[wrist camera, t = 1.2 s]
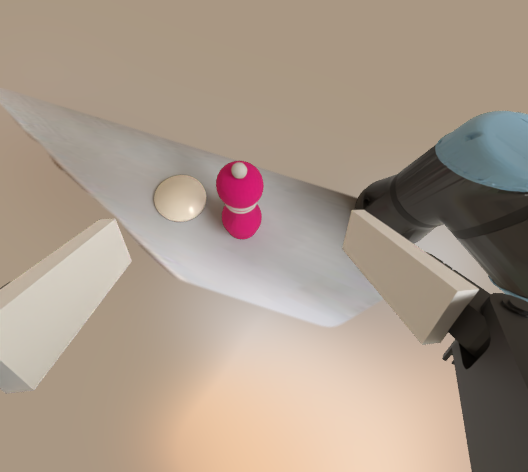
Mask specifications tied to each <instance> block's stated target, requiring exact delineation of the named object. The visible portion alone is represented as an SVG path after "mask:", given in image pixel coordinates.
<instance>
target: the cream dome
mask: <svg viewBox="0 0 528 472" xmlns="http://www.w3.org/2000/svg"><path fill="white" fill-rule="evenodd" d="M206 200H207V197H206V192H205V189H204V187H203V186H202V184H201V183H200V182H199V181H198V180H197V179H195V178H193V177H191V176H187V175H176V176H172V177H170V178H168V179H166V180H164V181H163V182H162V183H161V184H160V185H159V186H158V188H157V190H156V192H155V195H154V203H155V206H156V208H157V210H158V211H159V213H160V214H161V215H163V216H164V217H165V218H167V219H168V220H171V221H174V222H185V221H189V220H192V219H194V218H195V217H197V216H198V215H199V214H200V213H201V212H202V211H203V209H204V207H205V205H206Z"/></svg>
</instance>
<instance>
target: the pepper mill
mask: <svg viewBox="0 0 528 472" xmlns="http://www.w3.org/2000/svg"><path fill="white" fill-rule="evenodd" d="M216 187H217V192H218V194H219V197H220V198H221V199H222V201H223V202H224V204H225V206H224V209H223V211H222V222H223V225H224V227H225V228H226V230H227V231H228V232H229V233H230V234H231V235H232V236H233V237H235V238H237V239H247V238H250V237H251V236H253V235H254V234H255V232H256V230H257V229H258V228H259V226H260V224H261V210H260V208H259V206H258V205H257V202H258V200H259V199H260V197H261V195H262V192H263V179H262V176H261V174H260V172H259V170H258V169H257V168H256V167H255V166H253V165H252V164H250V163H248V162H244V161H234V162H231V163H229V164H227V165H225V166H224V167H223V168H222V169H221V170H220V172H219V174H218V176H217V180H216Z"/></svg>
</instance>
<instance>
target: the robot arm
mask: <svg viewBox="0 0 528 472" xmlns="http://www.w3.org/2000/svg"><path fill="white" fill-rule="evenodd" d="M443 224H445V226H446V227H448V229H449V230H450V231H451V232H452V233H453V235H454V236H455V237H456V238H457V239H458V240H459V241H460V243H461V244H462V245H463V246H464V247H465V249H466V250H467V251H468V252H469V253H470V254H471V255H472V257H473V258H474V259H475V260H476V261H477V262H478V263H479V265H480V266H481V267H482V268H483V269H484V270H485V271H486V273H487V274H488V277H489V278H490V280H491V282H492V283H493V284H494V285H495V286H497V287H498V288H499V289H500V290H502V291H503V292H504V293H505V294H503V293H493V294H489V293H488V292H486V291H485V290H484V289H482V288H481V287H479V286H478V285H476V284H475V283H473V282H472V281H470V280H469V279H467V278H466V277H464V276H463V275H461V274H460V273H458V272H457V271H456V270H452V268H451V267H450V266H448V265H447V264H443V262H442V261H441V260H439V259H438V258H436V257H435V256H433V255H432V254H429V253H427V252H425V251H423V250H422V249H420V248H419V247H417V246H416V245H415V244H414V243H416V242H418V241H419V240H421V239H422V238H423V237H424V236H426V235H427V234H428V233H429V232H430V231H432V230H433V229H434V228H435V227H437V226H440V225H443ZM342 249H343V250H344V252H345V253H346V254H347V255H348V256H349V258H350V259H351V260H352V261H353V262H354V264H355V265H356V266H357V267H358V268H359V270H360V271H361V272H362V273H363V274H364V276H365V277H366V278H367V279H368V280H369V282H370V283H371V284H372V285H373V286H374V288H375V289H376V290H377V291H378V292H379V294H380V295H381V296H382V297H383V298H384V300H385V301H386V302H387V303H388V304H389V305H390V307H391V308H392V309H393V310H394V312H395V313H396V314H397V315H398V316H399V318H400V319H401V320H402V321H403V322H404V324H405V325H406V326H407V327H408V328H409V330H410V331H411V332H412V333H413V334H414V336H415V337H416V338H417V339H418V340H419V342H420V343H421V344H422V345H425V344H433V343H440V342H441V341H442V340H443V338H444V337H445V336H446V334H447V333H448V332H449V333H450V334H451V335H452V336H453V337H454V338H455V341H454V342H453V343H452V344H451V346H450V347H449V348H448V350H447V351H446V352H445V353H444V355H443V360H445V361H446V360H447V359H448V358H449V357H450V356H451V355H453V357H454V360H453V362H452V364H454V365H455V370H456V376H457V382H458V389H459V394H460V401H461V407H462V414H463V420H464V426H465V432H466V438H467V444H468V451H469V457H470V463H471V469H472V472H528V115H527V114H524V113H520V112H511V111H494V112H488V113H484V114H481V115H478V116H476V117H474V118H472V119H470V120H469V121H467V122H466V123H464V124H463V125H461V126H460V127H459V128H457V129H456V130H454V131H453V132H451V133H449V134H447V135H445V136H444V137H442V138H441V139H440V140H439V141H438V143H437V144H436V145H435V146H434V147H432V148H431V149H430V150H428V151H427V152H426V153H425V154H423V155H422V156H421V157H419V158H418V159H417V160H415V161H414V162H413V163H411V164H410V165H409V166H408V167H406V168H405V169H403V170H402V171H401V172H400V173H399V174H397V175H394V176H391V177H388V178H385V179H382V180H379V181H376V182H374V183H372V184H371V185H370V186H368V187H367V188H366V189H365V190H364V191H363V192H362V193H361V194H360V196H359V197H358V199H357V202H356V210H352V211H351V215H350V219H349V223H348V227H347V231H346V235H345V240H344V244H343V248H342ZM131 261H132V260H131V258H130V255H129V252H128V250H127V247H126V245H125V242H124V239H123V237H122V234H121V232H120V229H119V227H118V224H117V221H116V219H99V220H98V221H97V222H95V223H94V224H92V225H91V226H90V227H88V228H87V229H85V230H84V231H82V232H81V233H80V234H78V235H77V236H75V237H74V238H72V239H71V240H70V241H68V242H67V243H65V244H64V245H63V246H61V247H60V248H58V249H57V250H55V251H54V252H53V253H51V254H50V255H48V256H47V257H46V258H44V259H43V260H41V261H40V262H38V263H37V264H36V265H34V266H33V267H32V268H30V269H29V270H27V271H26V272H25V273H23V274H21V275H20V276H19V277H17V278H16V279H14V280H13V281H11V282H9V283H7V284H6V285H4V286H3V287H2V288H0V389H1V390H2V391H3V392H5V393H15V392H23V391H32V390H35V388H36V387H37V386H38V384H39V383H40V382H41V380H42V379H43V377H44V376H45V375H46V374H47V373H48V371H49V370H50V368H51V367H52V366H53V365H54V363H55V362H56V361H57V359H58V358H59V357H60V355H61V354H62V353H63V351H64V350H65V349H66V347H67V346H68V345H69V343H70V342H71V341H72V340H73V338H74V337H75V336H76V334H77V333H78V331H79V330H80V329H81V328H82V326H83V325H84V324H85V322H86V321H87V320H88V318H89V317H90V316H91V314H92V313H93V312H94V310H95V309H96V307H97V306H98V305H99V304H100V303H101V301H102V300H103V299H104V297H105V296H106V295H107V293H108V292H109V290H110V289H111V288H112V287H113V285H114V284H115V283H116V281H117V280H118V279H119V277H120V276H121V275H122V273H123V272H124V271H125V270H126V268H127V267H128V266H129V264H130V263H131Z"/></svg>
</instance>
